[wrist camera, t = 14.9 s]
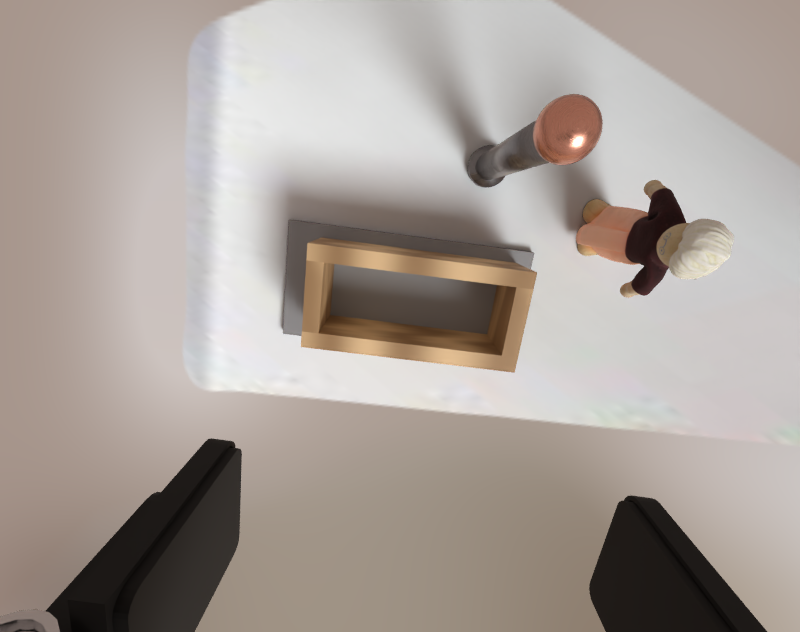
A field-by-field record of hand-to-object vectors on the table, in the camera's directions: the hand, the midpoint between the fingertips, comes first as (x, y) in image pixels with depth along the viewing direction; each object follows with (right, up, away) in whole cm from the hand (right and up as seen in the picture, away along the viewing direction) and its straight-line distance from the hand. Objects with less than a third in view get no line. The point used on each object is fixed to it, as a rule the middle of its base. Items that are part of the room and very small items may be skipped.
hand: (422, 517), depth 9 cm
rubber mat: (0, +7, +23) cm, 24 cm away
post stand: (+6, +17, +21) cm, 27 cm away
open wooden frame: (+1, +7, +23) cm, 24 cm away
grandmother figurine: (+15, +12, +22) cm, 30 cm away
